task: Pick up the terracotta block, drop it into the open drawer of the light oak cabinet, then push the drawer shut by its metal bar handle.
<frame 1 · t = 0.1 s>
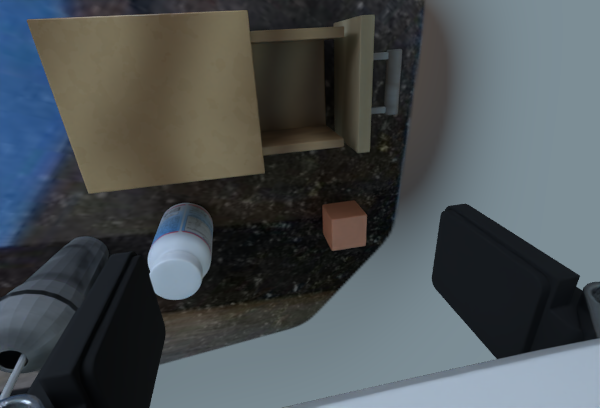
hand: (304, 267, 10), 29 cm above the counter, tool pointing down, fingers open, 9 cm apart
drawer: (311, 88, 32), point 5 cm above the counter, slide at 9.0 cm
block: (338, 217, 44), on the counter
beverage cup: (88, 251, 39), on the counter
pill bottle: (188, 223, 40), on the counter
cabinet: (179, 94, 34), on the counter
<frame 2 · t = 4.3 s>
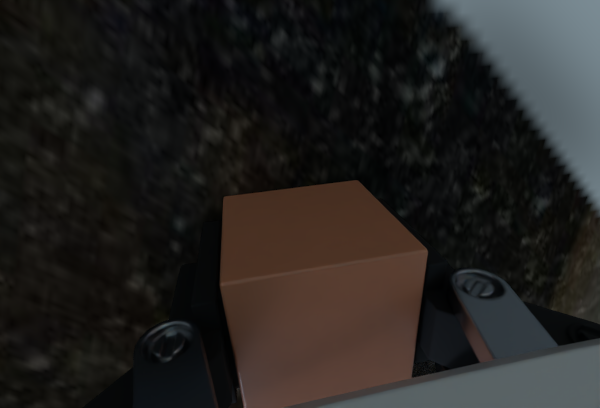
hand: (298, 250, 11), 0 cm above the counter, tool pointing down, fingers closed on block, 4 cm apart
block: (296, 245, 12), on the counter, touching gripper
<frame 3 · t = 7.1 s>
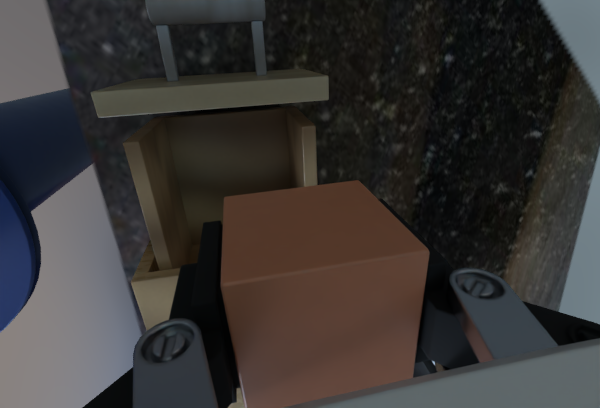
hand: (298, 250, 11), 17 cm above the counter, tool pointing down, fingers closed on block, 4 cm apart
drawer: (229, 153, 22), point 5 cm above the counter, slide at 9.0 cm
block: (297, 245, 11), point 16 cm above the counter, touching gripper
cabinet: (250, 270, 31), on the counter
when the fingers open (8 cm above the counter, at t = 9.9 s): block drops 6 cm, resting on drawer.
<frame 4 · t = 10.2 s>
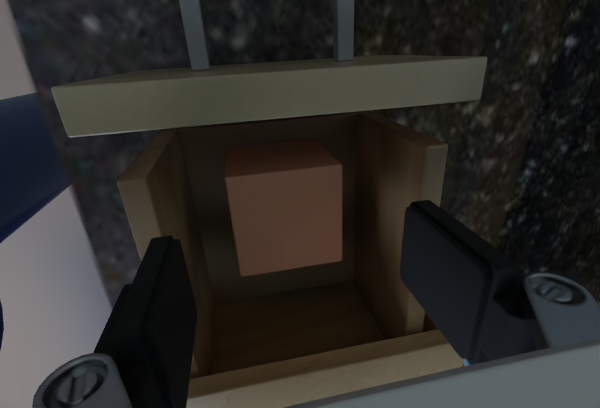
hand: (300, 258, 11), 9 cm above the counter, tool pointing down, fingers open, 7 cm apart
drawer: (282, 184, 14), point 5 cm above the counter, slide at 9.0 cm, touching block
block: (275, 184, 17), point 2 cm above the counter, touching drawer
cabinet: (287, 326, 24), on the counter
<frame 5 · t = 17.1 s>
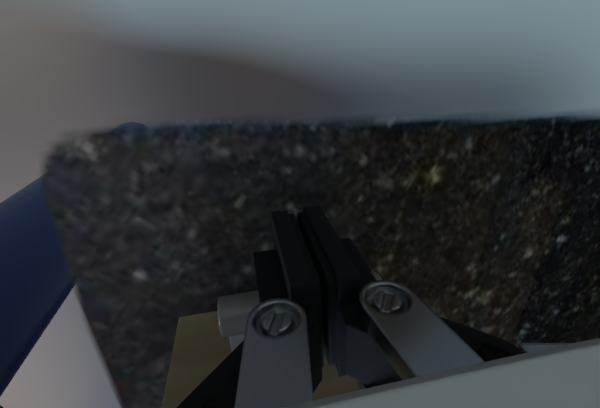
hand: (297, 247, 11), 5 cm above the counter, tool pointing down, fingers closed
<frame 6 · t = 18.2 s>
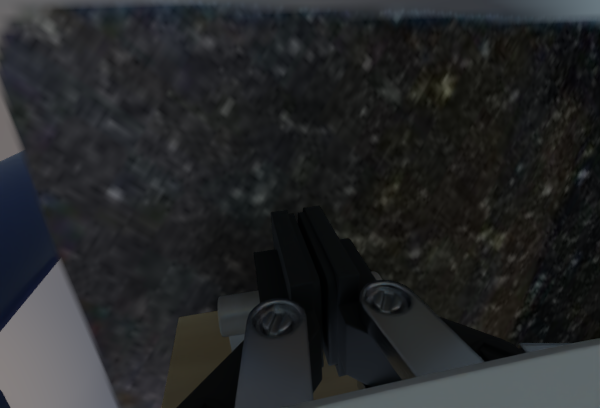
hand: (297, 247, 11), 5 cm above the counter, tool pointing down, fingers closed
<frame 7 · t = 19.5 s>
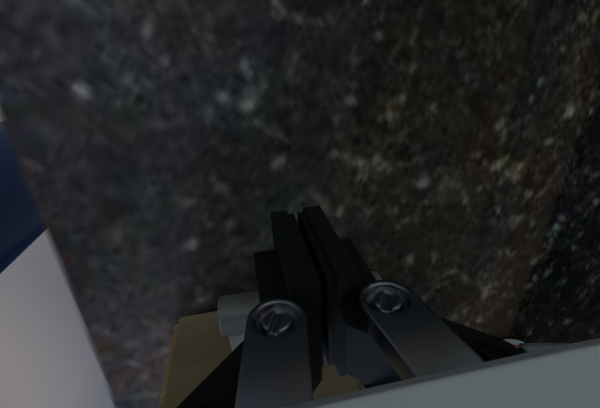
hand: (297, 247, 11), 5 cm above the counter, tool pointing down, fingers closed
cabinet: (295, 388, 22), on the counter
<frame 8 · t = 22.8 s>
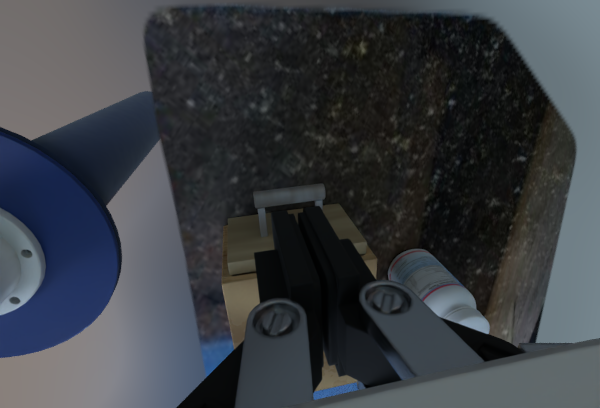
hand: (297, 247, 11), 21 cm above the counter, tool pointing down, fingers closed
drawer: (294, 270, 32), point 5 cm above the counter, slide at 0.0 cm, touching block, cabinet
pill bottle: (408, 266, 41), on the counter
cabinet: (289, 273, 38), on the counter
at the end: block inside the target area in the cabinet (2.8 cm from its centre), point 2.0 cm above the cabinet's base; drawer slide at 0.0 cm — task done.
